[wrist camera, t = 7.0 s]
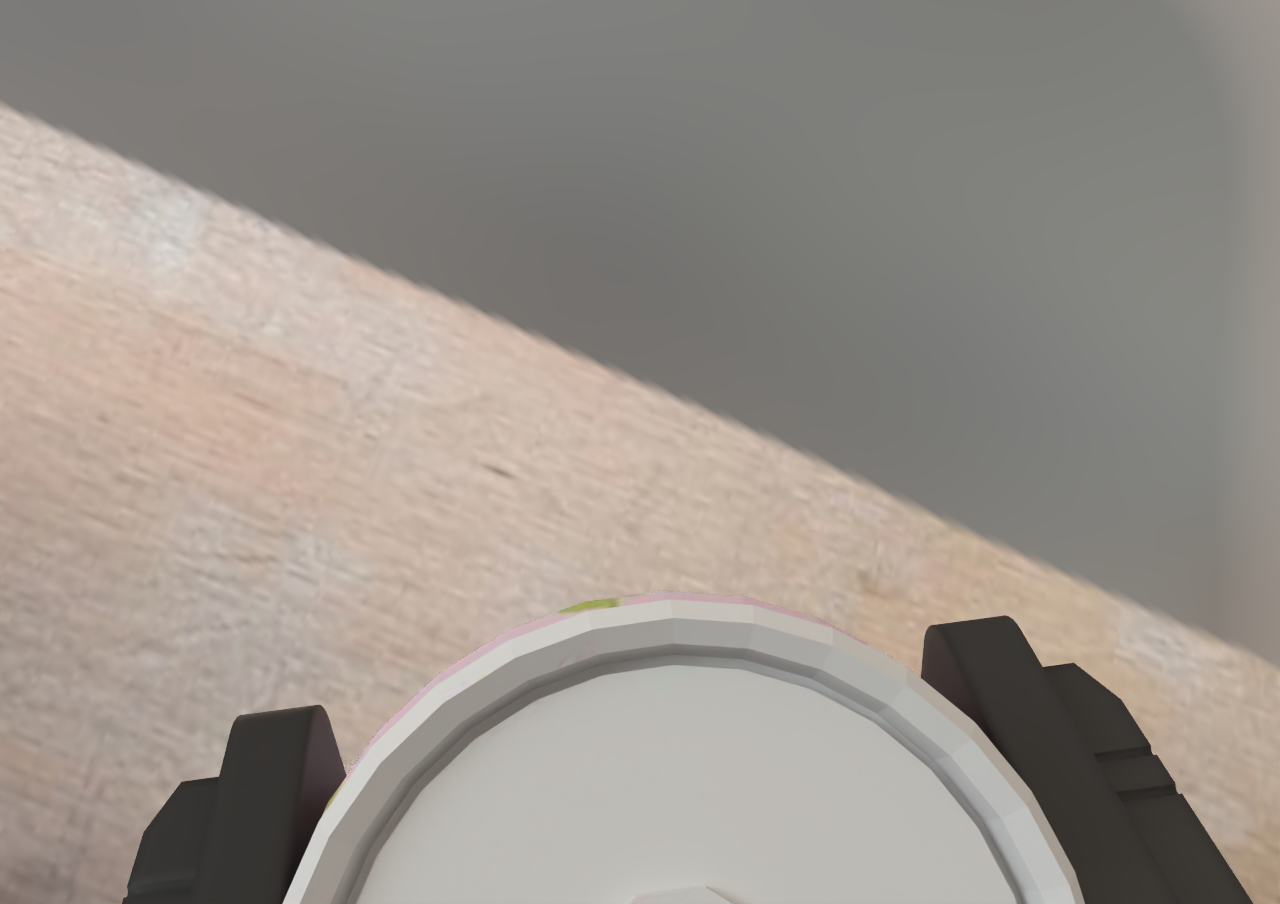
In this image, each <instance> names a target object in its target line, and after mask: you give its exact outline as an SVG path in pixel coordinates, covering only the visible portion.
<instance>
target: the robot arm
mask: <svg viewBox="0 0 1280 904" xmlns="http://www.w3.org/2000/svg"><path fill="white" fill-rule="evenodd" d="M921 679H923V680H924V681H925V682H926V683H928V684H929V685H930V686H931V687H932V688H934V689H935V690H936V691H937V692H939V693H940V694H941V695H942V696H943V697H945V698H946V699H947V700H948V701H950V702H951V703H952V704H953V705H954V706H956V707H957V708H958V709H959V710H961V711H962V712H963V713H964V714H965V715H967V716H968V717H969V718H970V719H972V720H973V721H974V722H975V723H976V724H977V725H978V727H979V728H980V729H981V730H982V731H983V733H984V734H985V735H986V736H987V738H988V739H989V740H990V741H991V742H992V744H993V745H994V746H995V747H996V748H997V750H998V751H999V752H1000V753H1001V755H1002V756H1003V757H1004V758H1005V759H1006V761H1007V762H1008V763H1009V764H1010V766H1011V767H1012V768H1013V769H1014V770H1015V772H1016V773H1017V774H1018V775H1019V776H1020V778H1021V779H1022V780H1023V781H1024V783H1025V784H1026V785H1027V786H1028V787H1029V789H1030V790H1031V791H1032V793H1033V795H1034V797H1035V799H1036V800H1037V802H1038V804H1039V806H1040V808H1041V810H1042V811H1043V813H1044V815H1045V817H1046V819H1047V821H1048V823H1049V824H1050V826H1051V828H1052V830H1053V832H1054V834H1055V836H1056V837H1057V839H1058V841H1059V843H1060V845H1061V847H1062V849H1063V850H1064V852H1065V854H1066V856H1067V858H1068V860H1069V861H1070V863H1071V865H1072V867H1073V869H1074V871H1075V873H1076V876H1077V880H1078V883H1079V886H1080V889H1081V892H1082V896H1083V899H1084V902H1085V904H1253V903H1252V901H1251V899H1250V898H1249V896H1248V895H1247V893H1246V892H1245V890H1244V889H1243V887H1242V886H1241V884H1240V882H1239V881H1238V879H1237V878H1236V876H1235V875H1234V873H1233V872H1232V870H1231V869H1230V867H1229V865H1228V864H1227V862H1226V861H1225V859H1224V858H1223V856H1222V855H1221V853H1220V852H1219V850H1218V849H1217V847H1216V845H1215V844H1214V842H1213V841H1212V839H1211V838H1210V836H1209V835H1208V833H1207V832H1206V830H1205V828H1204V827H1203V825H1202V824H1201V822H1200V821H1199V819H1198V818H1197V816H1196V815H1195V813H1194V811H1193V810H1192V808H1191V807H1190V805H1189V804H1188V802H1187V801H1186V799H1185V798H1184V796H1183V794H1178V793H1177V791H1176V787H1175V782H1174V781H1173V779H1172V777H1171V776H1170V774H1169V773H1168V771H1167V770H1166V768H1165V767H1164V765H1163V764H1162V762H1161V761H1160V759H1159V757H1158V756H1157V755H1153V754H1152V752H1151V745H1150V744H1149V742H1148V740H1147V739H1146V737H1145V736H1144V734H1143V733H1142V731H1141V730H1140V728H1139V727H1138V725H1137V723H1136V722H1135V720H1134V719H1133V717H1132V716H1131V714H1130V713H1129V711H1128V710H1127V708H1126V706H1125V705H1124V703H1123V702H1122V700H1121V699H1120V698H1118V697H1117V696H1116V695H1114V694H1113V693H1112V692H1111V691H1109V690H1108V689H1107V688H1105V687H1104V686H1103V685H1102V684H1100V683H1099V682H1098V681H1096V680H1095V679H1094V678H1093V677H1091V676H1090V675H1089V674H1087V673H1086V672H1085V671H1084V670H1082V669H1081V668H1080V667H1078V666H1077V665H1076V664H1075V663H1070V664H1062V665H1055V666H1047V667H1042V665H1041V664H1040V662H1039V660H1038V658H1037V657H1036V655H1035V653H1034V652H1033V650H1032V648H1031V647H1030V645H1029V643H1028V641H1027V640H1026V638H1025V636H1024V635H1023V633H1022V631H1021V629H1020V628H1019V626H1018V625H1017V623H1016V622H1015V621H1014V620H1013V619H1012V618H1010V617H1009V616H999V617H991V618H984V619H976V620H969V621H961V622H953V623H946V624H938V625H932V626H929V627H928V629H927V631H926V634H925V639H924V648H923V660H922V672H921ZM345 778H346V773H345V770H344V766H343V763H342V760H341V757H340V753H339V750H338V747H337V744H336V740H335V737H334V734H333V731H332V727H331V724H330V721H329V718H328V715H327V713H326V711H325V709H324V708H323V707H322V706H321V705H314V706H306V707H299V708H291V709H284V710H276V711H269V712H261V713H254V714H246V715H240V716H238V717H237V718H236V720H235V721H234V723H233V725H232V728H231V732H230V735H229V739H228V743H227V747H226V751H225V755H224V759H223V763H222V767H221V771H220V775H219V777H214V778H206V779H199V780H192V781H184V782H181V783H180V785H179V786H178V787H177V789H176V790H175V791H174V793H173V794H172V795H171V797H170V798H169V799H168V801H167V802H166V803H165V805H164V806H163V807H162V809H161V810H160V811H159V813H158V814H157V815H156V817H155V818H154V819H153V821H152V822H151V823H150V825H149V826H148V827H147V828H146V830H145V831H144V833H143V836H142V840H141V843H140V846H139V850H138V853H137V856H136V859H135V863H134V866H133V869H132V873H131V876H130V879H129V882H128V886H127V888H128V896H127V897H126V898H124V899H123V902H122V904H282V903H283V901H284V899H285V897H286V894H287V892H288V890H289V888H290V885H291V883H292V881H293V879H294V876H295V874H296V872H297V870H298V867H299V865H300V863H301V860H302V858H303V856H304V854H305V851H306V849H307V847H308V845H309V842H310V840H311V838H312V836H313V833H314V831H315V829H316V827H317V824H318V822H319V821H320V819H321V817H322V815H323V813H324V811H325V808H326V806H327V804H328V802H329V801H330V799H331V798H332V796H333V795H334V793H335V792H336V791H337V789H338V788H339V786H340V785H341V783H342V782H343V781H344V779H345Z"/></svg>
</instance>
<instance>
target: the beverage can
mask: <svg viewBox="0 0 1280 904" xmlns="http://www.w3.org/2000/svg"><path fill="white" fill-rule="evenodd" d="M282 904H1085V902H1084V899H1083V896H1082V892H1081V889H1080V886H1079V883H1078V880H1077V876H1076V873H1075V871H1074V869H1073V867H1072V865H1071V863H1070V861H1069V860H1068V858H1067V856H1066V854H1065V852H1064V850H1063V849H1062V847H1061V845H1060V843H1059V841H1058V839H1057V837H1056V836H1055V834H1054V832H1053V830H1052V828H1051V826H1050V824H1049V823H1048V821H1047V819H1046V817H1045V815H1044V813H1043V811H1042V810H1041V808H1040V806H1039V804H1038V802H1037V800H1036V799H1035V797H1034V795H1033V793H1032V791H1031V790H1030V789H1029V787H1028V786H1027V785H1026V784H1025V783H1024V781H1023V780H1022V779H1021V778H1020V776H1019V775H1018V774H1017V773H1016V772H1015V770H1014V769H1013V768H1012V767H1011V766H1010V764H1009V763H1008V762H1007V761H1006V759H1005V758H1004V757H1003V756H1002V755H1001V753H1000V752H999V751H998V750H997V748H996V747H995V746H994V745H993V744H992V742H991V741H990V740H989V739H988V738H987V736H986V735H985V734H984V733H983V731H982V730H981V729H980V728H979V727H978V725H977V724H976V723H975V722H974V721H973V720H972V719H970V718H969V717H968V716H967V715H965V714H964V713H963V712H962V711H961V710H959V709H958V708H957V707H956V706H954V705H953V704H952V703H951V702H950V701H948V700H947V699H946V698H945V697H943V696H942V695H941V694H940V693H939V692H937V691H936V690H935V689H934V688H932V687H931V686H930V685H929V684H928V683H926V682H925V681H924V680H923V679H921V678H920V677H919V676H918V675H917V674H915V673H914V672H913V671H912V670H911V669H909V668H908V667H906V666H904V665H902V664H900V663H899V662H898V661H896V660H895V659H894V658H893V657H892V656H890V655H888V654H886V653H885V652H883V651H881V650H879V649H877V648H875V647H873V646H871V645H869V644H867V643H866V642H864V641H862V640H860V639H858V638H856V637H854V636H852V635H850V634H848V633H846V632H845V631H843V630H841V629H839V628H837V627H835V626H833V625H831V624H829V623H827V622H826V621H824V620H822V619H820V618H817V617H814V616H810V615H807V614H803V613H800V612H796V611H793V610H789V609H786V608H782V607H779V606H775V605H772V604H768V603H765V602H761V601H758V600H754V599H751V598H747V597H744V596H732V595H718V594H703V593H689V592H674V591H658V592H651V593H644V594H637V595H630V596H623V597H616V598H609V599H602V600H595V601H588V602H583V603H581V604H578V605H575V606H572V607H570V608H567V609H564V610H561V611H559V612H556V613H553V614H550V615H548V616H545V617H542V618H540V619H537V620H534V621H531V622H529V623H526V624H523V625H520V626H518V627H515V628H512V629H509V630H508V631H506V632H505V633H503V634H501V635H500V636H498V637H496V638H495V639H493V640H492V641H490V642H488V643H487V644H485V645H484V646H482V647H480V648H479V649H477V650H476V651H474V652H472V653H471V654H469V655H468V656H466V657H464V658H463V659H461V660H460V661H458V662H456V663H455V664H453V665H452V666H450V667H448V668H447V669H445V670H444V671H442V672H440V673H439V674H438V675H437V676H436V677H435V678H434V679H433V680H432V681H430V682H429V683H428V684H427V685H426V686H425V687H424V688H423V689H422V690H421V691H420V692H419V693H418V694H417V695H416V696H415V697H414V698H413V699H412V700H410V701H409V702H408V703H407V704H406V705H405V706H404V707H403V708H402V709H401V710H400V711H399V712H398V713H397V714H396V715H395V716H394V717H393V718H392V719H391V720H389V721H388V722H387V723H386V724H385V725H384V726H383V727H382V728H381V729H380V730H379V731H378V732H377V734H376V735H375V736H374V738H373V739H372V741H371V742H370V744H369V745H368V746H367V748H366V749H365V751H364V752H363V754H362V755H361V756H360V758H359V759H358V761H357V762H356V763H355V765H354V766H353V768H352V769H351V771H350V772H349V773H348V775H347V776H346V778H345V779H344V781H343V782H342V783H341V785H340V786H339V788H338V789H337V791H336V792H335V793H334V795H333V796H332V798H331V799H330V801H329V802H328V804H327V806H326V808H325V811H324V813H323V815H322V817H321V819H320V821H319V822H318V824H317V827H316V829H315V831H314V833H313V836H312V838H311V840H310V842H309V845H308V847H307V849H306V851H305V854H304V856H303V858H302V860H301V863H300V865H299V867H298V870H297V872H296V874H295V876H294V879H293V881H292V883H291V885H290V888H289V890H288V892H287V894H286V897H285V899H284V901H283V903H282Z"/></svg>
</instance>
